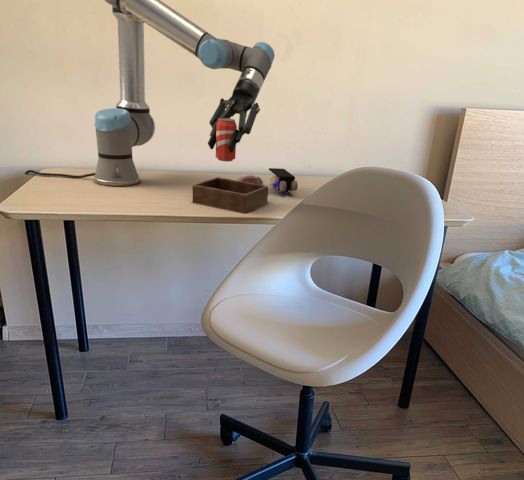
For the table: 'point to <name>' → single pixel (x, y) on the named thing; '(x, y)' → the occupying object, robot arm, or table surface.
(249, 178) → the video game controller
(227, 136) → the beverage can
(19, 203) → the table surface
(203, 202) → the brown wooden box
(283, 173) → the figurine character
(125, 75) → the robot arm
